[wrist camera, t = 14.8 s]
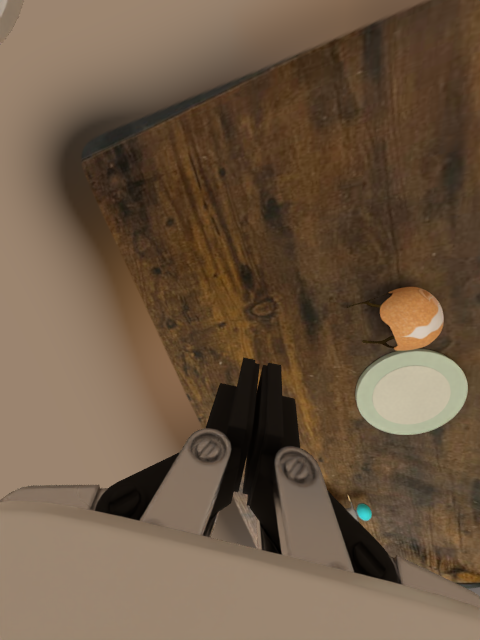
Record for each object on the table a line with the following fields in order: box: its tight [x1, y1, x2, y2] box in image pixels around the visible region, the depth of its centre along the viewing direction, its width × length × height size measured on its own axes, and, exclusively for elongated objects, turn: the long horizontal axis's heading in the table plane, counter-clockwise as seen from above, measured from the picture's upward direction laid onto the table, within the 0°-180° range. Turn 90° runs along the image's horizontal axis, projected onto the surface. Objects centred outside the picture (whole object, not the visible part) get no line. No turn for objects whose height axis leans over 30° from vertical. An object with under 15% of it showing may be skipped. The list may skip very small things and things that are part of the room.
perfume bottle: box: [346, 496, 372, 522], centre depth 36 cm, size 8×8×12 cm
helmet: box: [347, 287, 444, 351], centre depth 26 cm, size 6×7×8 cm
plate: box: [355, 349, 468, 435], centre depth 31 cm, size 12×12×1 cm
